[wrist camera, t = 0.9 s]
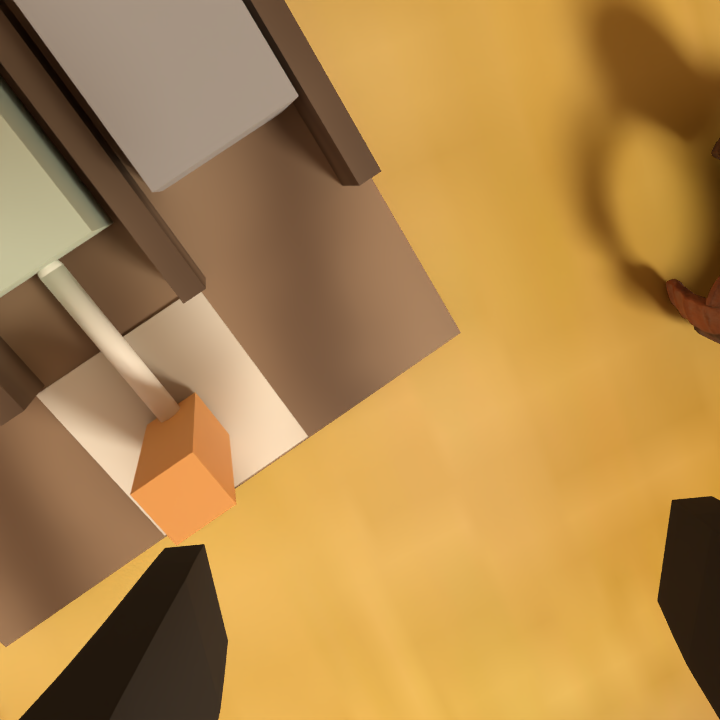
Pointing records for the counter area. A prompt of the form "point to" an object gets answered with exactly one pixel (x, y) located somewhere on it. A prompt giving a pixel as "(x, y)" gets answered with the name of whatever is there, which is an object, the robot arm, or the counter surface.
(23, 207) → the rod with orange block
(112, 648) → the robot arm
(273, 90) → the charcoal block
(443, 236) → the counter surface
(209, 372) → the lane shelf
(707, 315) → the dark brown lumpy figurine
